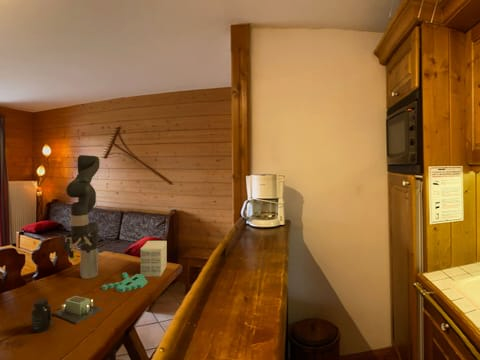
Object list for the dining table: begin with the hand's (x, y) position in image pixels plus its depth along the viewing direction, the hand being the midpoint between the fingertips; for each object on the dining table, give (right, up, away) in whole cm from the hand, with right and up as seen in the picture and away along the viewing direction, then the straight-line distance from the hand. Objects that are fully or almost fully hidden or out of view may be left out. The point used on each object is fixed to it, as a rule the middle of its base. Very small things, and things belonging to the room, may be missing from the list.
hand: (80, 255), depth 133 cm
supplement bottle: (-5, -26, -20) cm, 33 cm away
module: (+3, -24, -7) cm, 25 cm away
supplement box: (+23, -23, +43) cm, 54 cm away
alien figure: (+14, -24, +24) cm, 37 cm away
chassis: (+3, -25, -7) cm, 26 cm away
